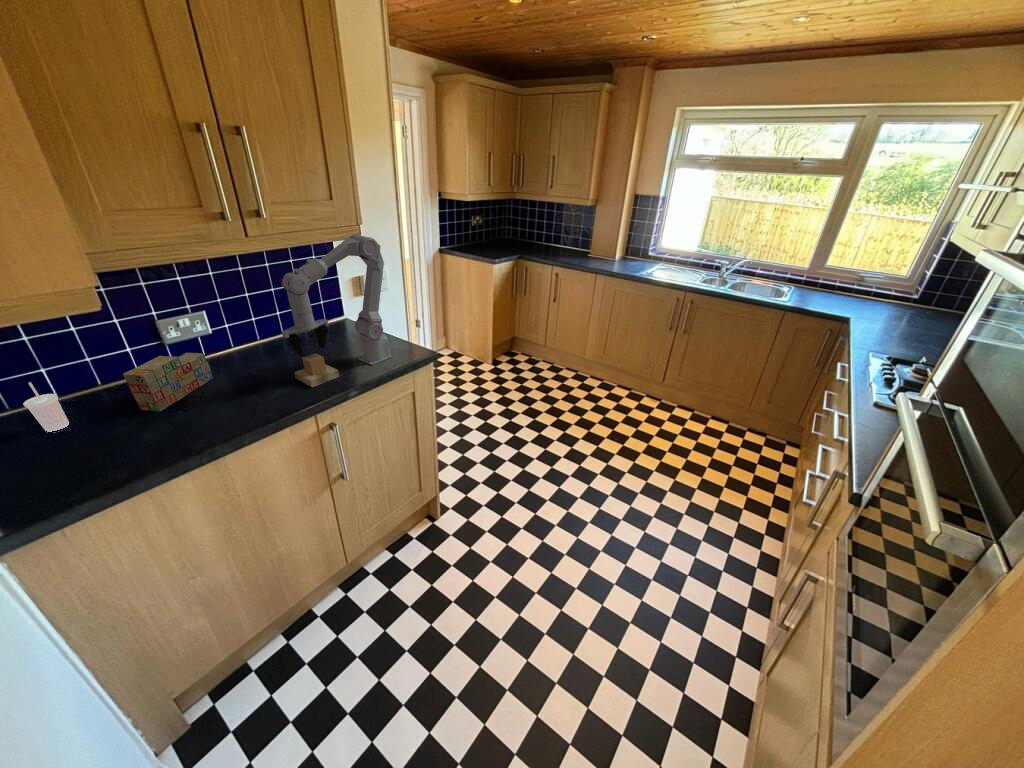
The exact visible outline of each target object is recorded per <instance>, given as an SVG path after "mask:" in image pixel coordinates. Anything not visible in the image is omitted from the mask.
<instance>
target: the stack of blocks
mask: <svg viewBox="0 0 1024 768" xmlns="http://www.w3.org/2000/svg"><path fill="white" fill-rule="evenodd" d="M122 375H123V378H124V379H125V382H126V383H127V385H126V386H128V389H129V391H130V392H131V394H132V395H133V398H134V399H135V401H136V404H137V405H138V408H139V409H140V411H145V412H146V411H147V412H150V411H151V412H162V411H163V410H165V409H167V408H168V407H170V406H172V405H173V404H175V403H177V402H178V401H180V400H182V399H184V397H185V398H186V396H187V395H189V394H191V393H193V390H194V391H195V390H197V389H198V388H199V387H201V386H203V385H204V384H205V385H206V383H208V382H210V381H212V379H214V375H213V373H212V370H211V367H210V364H209V362H208V361H207V358H206V356H205V353H198V352H185V353H183V354H182V355H180V356H169V355H168V356H164V355H159V356H157V357H154V358H153V359H151V360H148V361H147V362H144V363H143V364H140V365H139V366H137V367H134V368H133V369H130V370H128V371H126V372H124V373H122ZM190 392H191V393H190Z"/></svg>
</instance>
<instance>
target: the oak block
mask: <svg viewBox="0 0 1024 768" xmlns="http://www.w3.org/2000/svg"><path fill="white" fill-rule="evenodd" d="M325 366H326V371H323V372H321V373H318V374H316V375H312V374H310V373H308V372H306V371H305V368H302V369H299V370H297V371H294V376H295V380H298V381H299V382H301V383H303V384H305V385H307V386H308V387H311V388H314V387H317V386H319V385H322V384H324V383H326V382H330V381H332V380H334V379H338V378H340V373H339V370H338V369H337V368H335V367H332V366H331V365H328V364H327V363H325Z"/></svg>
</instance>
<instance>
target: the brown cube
mask: <svg viewBox="0 0 1024 768" xmlns="http://www.w3.org/2000/svg"><path fill="white" fill-rule="evenodd" d="M324 357H325V356H322V355H320V354H318V353H313V354H309V355H307V356H304V357H303V356H302V357H301V359H302V363H303V367H304V368H305V371H306V372H308V373H310V374H312V375H316V374H318V373H321V372H323V371H326V366H325V364H326V363H325V358H324ZM304 368H303V369H304Z"/></svg>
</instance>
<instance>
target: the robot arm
mask: <svg viewBox="0 0 1024 768" xmlns="http://www.w3.org/2000/svg"><path fill="white" fill-rule="evenodd" d="M347 257H358V258H360V259H361V260H362V261H363V263H364V264H365V265H366V271H365V281H364V291H363V292H364V293H363V300H362V301H363V302H362V309H361V310H360V312H358V314H357V319H356V321H355V322H354V328H355V330H356V332H358V333H359V340H360V344H361V345H360V346H361V351H362V357H359V358H358V360H359V361H361V362H363V363H366V364H368V365H370V366H373V365H376V364H378V363H381V362H383V361H386V360H388V359H391V358H392V357H393V356H392V355H391V348H390V342H389V341H390V340H389V338H388V337H387V335H386V334H385V333H384V328H383V324H382V323H383V319H382V317H381V316H380V313H379V310H380V301H381V291H382V283H383V273H384V265H385V262H384V259H383V256H382V253H381V245H380V243H378V241H376V239H374V238H373V237H371V236H370V237H369V236H365V235H360V234H357V233H354V234H351V235H350V236H349V237H347V238H345V239H344V240H343V241H341V243H339V244H338V245H337V246H335V247H334V248H333V249H332V250H330V251H329V252H328V253H326V254H324V256H322V257H321V258H320V259H319V258H308V259H306V263H305V264H303V265H301V266H300V267H299V268H294V269H293V272H287V273H285V274H284V275H283V278H282V279H281V286H282V288H284V289H285V290H286V293H287V299H288V303H289V307H290V310H291V313H292V319H293V323H294V325H293V326H291V327H289V328H286V329H284V330H281V334H282V337H283V338H285V339H286V340H287V341H288V342H289V343H290V344H291V345H292V347H293V348H294V350H295V352H296V353H297V355H298V356H300V357H303V356H304V351H303V348H302V342H301V341H302V338H301V337H299V336H298V335H299V334H301V333H302V334H303V333H305V332H309V331H311V330H314V333H315V335H316V339H317V343H318V347H319V348H320V349H322V350H325V348H326V339H327V334H328V332H329V325H330V324H329V320H328V319H326V318H323V319H317V320H315V317H314V315H313V310H312V304H311V300H310V296H309V290H310V286H312V285H313V284H315V283H316V282H317V281H319V280H320V279H322V278H323V277H324V276H326V275H327V274H328V268H330V267H333V266H334V265H335V264H337V263H339V262H340V261H342V260H344V259H345V258H347ZM327 326H328V327H327Z"/></svg>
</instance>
